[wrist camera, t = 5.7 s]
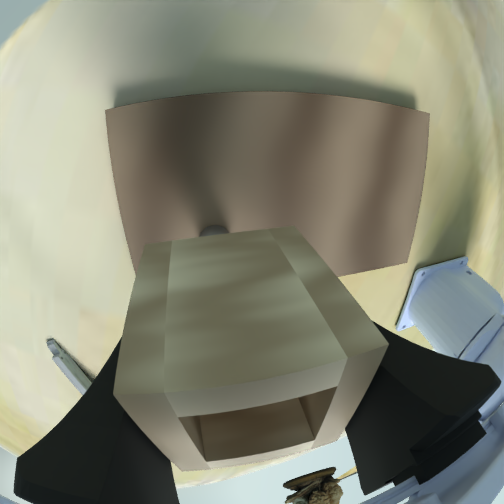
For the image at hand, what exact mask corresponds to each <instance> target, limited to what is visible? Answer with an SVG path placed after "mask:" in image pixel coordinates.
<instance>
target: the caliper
mask: <svg viewBox="0 0 504 504" xmlns="http://www.w3.org/2000/svg"><path fill="white" fill-rule="evenodd" d="M47 346H48V348H49V349H50V351H51V352H52V353H53V355H54V356H53V358H52V359H53V360H54V362H55V363H56V364H57V366H58V367H59V368H60V369H61V371H62V372H63V373H64V374H65V375H66V377H67V378H68V379H69V380H70V381H71V383H72V384H73V385H74V386H75V387H76V388H77V389H78V391H79V392H80V393H81V394H82V395H84V393H85V392H86V391H87V390H88V388H89V387H90V386H91V384H92V382H91V381H90V380H89V379H88V377H87V376H86V375H85V374H84V373H83V371H82V370H81V369H80V368H79V366H78V365H77V364H76V363H75V361H74V360H73V359H72V358H71V357H70V356H69V355H68V354H67V353H66V352H65V351H64V350H63V349H60V347H59V346H58V344H57V343H56V342H55V340H53V339H52V340H50V341H47Z"/></svg>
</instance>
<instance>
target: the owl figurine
mask: <svg viewBox="0 0 504 504" xmlns="http://www.w3.org/2000/svg"><path fill="white" fill-rule="evenodd" d="M335 471H336V468H335V467H330V468H326V469H323V470H319V471H316V472H313V473H309V474H306V475H303V476H300V477H297V478H295V479H292V480H289V481H287V482H286V483H284V484H283V487H285V488H287V489H291V490H295V491H297V492H296V493H294V494H292V495H289V496H287V500H286V501H285V504H287V503H291V502H293V504H339V500H340V498H341V496H342V495H343V492H342V489H341V487H340V486H339V485H338V484H337V483H339V482H340V479H334V478H333V477H332V475H333V474H334V472H335Z"/></svg>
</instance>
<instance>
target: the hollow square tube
mask: <svg viewBox="0 0 504 504" xmlns="http://www.w3.org/2000/svg"><path fill="white" fill-rule="evenodd" d="M388 345H389V343H388V342H387V341H386V339H385V338H384V336H383V335H382V334H381V332H380V331H379V330H378V328H377V327H376V326H375V325H374V323H373V322H372V321H371V319H370V318H369V317H368V315H367V314H366V313H365V311H364V310H363V309H362V308H361V306H360V305H359V304H358V303H357V301H356V300H355V299H354V297H353V296H352V295H351V294H350V292H349V291H348V290H347V289H346V287H345V286H344V285H343V284H342V282H341V281H340V280H339V279H338V277H337V276H336V275H335V274H334V272H333V271H332V270H331V269H330V268H329V266H328V265H327V264H326V263H325V262H324V260H323V259H322V258H321V257H320V256H319V254H318V253H317V252H316V251H315V250H314V248H313V247H312V246H311V245H310V244H309V242H308V241H307V240H306V239H305V238H304V237H303V235H302V234H301V233H300V232H299V231H298V230H297V228H296V227H295V226H287V227H278V228H269V229H260V230H252V231H243V232H235V233H227V234H219V235H211V236H203V237H195V238H187V239H180V240H172V241H165V242H158V243H151V244H145V245H144V249H143V252H142V256H141V259H140V263H139V266H138V270H137V274H136V278H135V282H134V286H133V290H132V294H131V298H130V302H129V307H128V311H127V316H126V320H125V325H124V330H123V335H122V340H121V346H120V351H119V357H118V363H117V370H116V377H115V384H114V392H113V395H114V396H115V398H116V399H117V400H118V402H119V403H120V404H121V406H122V407H123V408H124V409H125V411H126V412H127V413H128V414H129V416H130V417H131V418H132V419H133V420H134V422H135V423H136V424H137V425H138V426H139V428H140V429H141V430H142V431H143V432H144V433H145V434H146V435H147V437H148V438H149V439H150V440H151V441H152V442H153V443H154V444H155V445H156V446H157V447H158V448H159V449H160V451H161V452H162V453H163V454H164V455H165V456H166V457H167V458H168V459H169V460H170V461H171V462H173V463H174V464H175V465H176V466H177V467H178V468H179V469H180V470H181V471H197V470H209V469H218V468H226V467H233V466H240V465H246V464H252V463H257V462H262V461H267V460H272V459H276V458H280V457H285V456H289V455H292V454H296V453H300V452H303V451H307V450H310V449H314V448H317V447H320V446H323V445H326V444H329V443H332V442H335V441H337V440H338V438H339V437H340V435H341V434H342V432H343V430H344V429H345V427H346V426H347V424H348V422H349V421H350V419H351V417H352V416H353V414H354V412H355V411H356V409H357V407H358V405H359V404H360V402H361V400H362V398H363V396H364V394H365V393H366V391H367V389H368V387H369V385H370V383H371V381H372V379H373V377H374V375H375V373H376V371H377V369H378V367H379V365H380V363H381V360H382V358H383V356H384V354H385V352H386V349H387V347H388Z"/></svg>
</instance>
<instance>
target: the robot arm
mask: <svg viewBox="0 0 504 504" xmlns="http://www.w3.org/2000/svg"><path fill="white" fill-rule="evenodd" d="M467 262H468V257H466V256H464V257H461V258H457V259H454V260H450V261H446V262H443V263H439V264H435V265H431V266H428V267H424V268H420V269H418V270H416V272H415V274H414V277H413V280H412V284H411V287H410V290H409V293H408V296H407V299H406V301H405V304H404V307H403V310H402V312H401V315H400V318H399V320H398V323H397V325H396V330H397V331H401V330H403V329H406V328H408V327H411V326H414V325H415V326H416V327H417V329H418V330H419V331H420V332H421V333H422V334H423V336H424V337H425V338H426V339H427V340H428V342H429V343H430V344H431V345H432V346H433V348H434V349H435V350H436V351H437V352H435V351H432V350H430V349H427V348H424V347H422V346H419V345H417V344H415V343H412V342H410V341H408V340H406V339H404V338H402V337H400V336H398V335H396V334H394V333H392V332H390V331H389V330H387V329H385V328H383V327H382V326H380V325H378V324H377V323H375V322H373V321H372V320H371V321H372V322H373V323H374V325H375V326H376V327H377V328H378V330H379V331H380V332H381V334H382V335H383V336H384V338H385V339H386V341H387V342H388V343H389V345H388V347H387V349H386V352H385V354H384V356H383V358H382V360H381V363H380V365H379V367H378V369H377V371H376V373H375V375H374V377H373V379H372V381H371V383H370V385H369V387H368V389H367V391H366V393H365V394H364V396H363V398H362V400H361V402H360V404H359V405H358V407H357V409H356V411H355V412H354V414H353V416H352V417H351V419H350V421H349V422H348V424H347V426H346V427H345V431H346V433H347V436H348V439H349V442H350V446H351V449H352V453H353V456H354V460H355V463H356V468H357V472H358V476H359V480H360V485H361V489H362V491H363V493H364V495H368V494H370V493H372V492H374V491H376V490H378V489H380V488H382V487H384V486H386V485H388V484H390V483H392V482H393V483H394V485H395V487H393V488H391V489H389V490H387V491H385V492H383V493H381V494H379V495H377V496H375V497H373V498H371V499H369V500H367V501H364V502H362V503H360V504H397V503H399V502H401V501H402V500H404V499H405V498H407V497H409V496H410V497H409V500H408V502H406V503H404V504H491V503H492V501H493V500H494V499H495V498H496V496H497V495H498V493H499V492H500V490H501V489H502V488H503V486H504V403H503V402H504V303H503V300H502V298H501V296H500V294H499V293H498V291H497V290H496V289H494V288H493V287H492V286H491V285H490V284H489V283H487V282H486V281H485V280H484V279H483V278H482V277H480V276H479V275H478V274H477V273H475V272H474V271H473V270H472V269H470V268H469V267H468V266H467ZM121 340H122V337H121V339H120V341H119V342H118V344H117V346H116V347H115V349H114V351H113V352H112V354H111V356H110V357H109V359H108V360H107V362H106V363H105V365H104V366H103V368H102V369H101V371H100V373H99V374H98V376H97V377H96V379H95V380H94V381H93V383H92V384H91V386H90V387H89V388H88V390H87V391H86V392H85V393H84V395H83V396H82V397H81V399H80V400H79V401H78V402H77V403H76V405H75V406H74V407H73V408H72V409H71V410H70V411H69V412H68V414H67V415H66V416H65V417H64V418H63V419H62V420H61V421H60V422H59V423H58V424H57V425H56V426H55V427H54V428H53V429H52V430H51V431H50V432H49V433H48V434H47V435H46V436H45V437H43V438H42V439H41V440H40V441H39V442H38V443H36V444H35V445H34V446H33V447H31V448H30V449H29V450H27V451H26V452H25V453H24V454H22V455H21V456H19V457H18V458H17V463H16V471H15V480H14V493H15V495H16V496H18V497H20V498H22V499H24V500H26V501H28V502H31V503H33V504H180V503H179V500H178V497H177V491H176V487H175V483H174V478H173V473H172V467H171V461H170V460H169V459H168V458H167V457H166V456H165V455H164V454H163V453H162V452H161V451H160V449H159V448H158V447H157V446H156V445H155V444H154V443H153V442H152V441H151V440H150V439H149V438H148V437H147V435H146V434H145V433H144V432H143V431H142V430H141V429H140V428H139V426H138V425H137V424H136V423H135V422H134V420H133V419H132V418H131V417H130V416H129V414H128V413H127V412H126V411H125V409H124V408H123V407H122V406H121V404H120V403H119V402H118V400H117V399H116V398H115V396H114V395H113V392H114V384H115V377H116V370H117V363H118V357H119V351H120V346H121ZM502 403H503V404H502ZM501 404H502V405H501ZM500 405H501V406H500ZM0 504H18V503H16V502H14V501H12V500H10V499H8V498H6V497H4V496H2V495H0Z"/></svg>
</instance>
